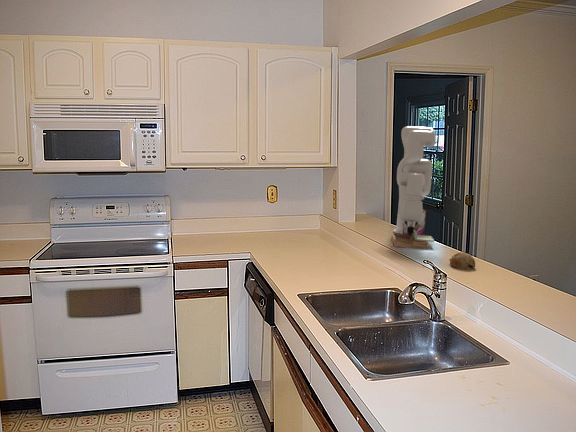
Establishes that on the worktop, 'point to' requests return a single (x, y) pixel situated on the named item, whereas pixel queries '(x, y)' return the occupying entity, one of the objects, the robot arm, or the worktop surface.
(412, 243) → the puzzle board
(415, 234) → the lid
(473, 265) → the bread roll
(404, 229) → the candy bar box
